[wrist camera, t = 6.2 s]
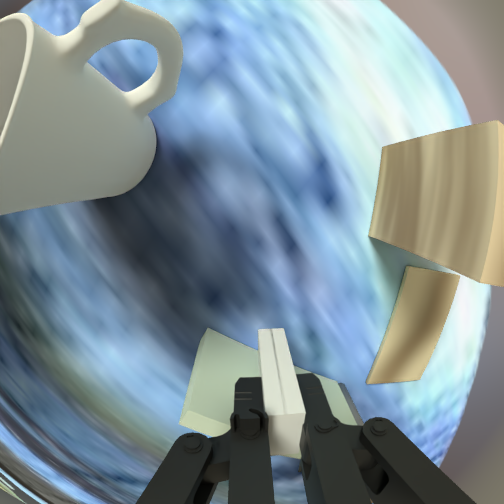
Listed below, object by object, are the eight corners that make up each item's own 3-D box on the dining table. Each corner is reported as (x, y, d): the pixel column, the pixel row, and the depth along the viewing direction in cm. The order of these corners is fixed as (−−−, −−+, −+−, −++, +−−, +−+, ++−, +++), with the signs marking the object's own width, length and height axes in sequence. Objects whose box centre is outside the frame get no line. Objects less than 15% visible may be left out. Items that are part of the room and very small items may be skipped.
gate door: (347, 385, 19) (384, 458, 11) (338, 395, 19) (371, 469, 11) (207, 327, 17) (187, 414, 9) (200, 340, 17) (177, 428, 10)
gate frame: (300, 439, 20) (319, 526, 11) (382, 146, 15) (497, 120, 6) (386, 431, 21) (421, 498, 11) (473, 185, 16) (569, 195, 6)
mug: (95, 219, 16) (-56, 264, 4) (62, 139, 14) (-72, 117, 3) (228, 138, 15) (194, 19, 3) (182, 57, 14) (118, -74, 2)
